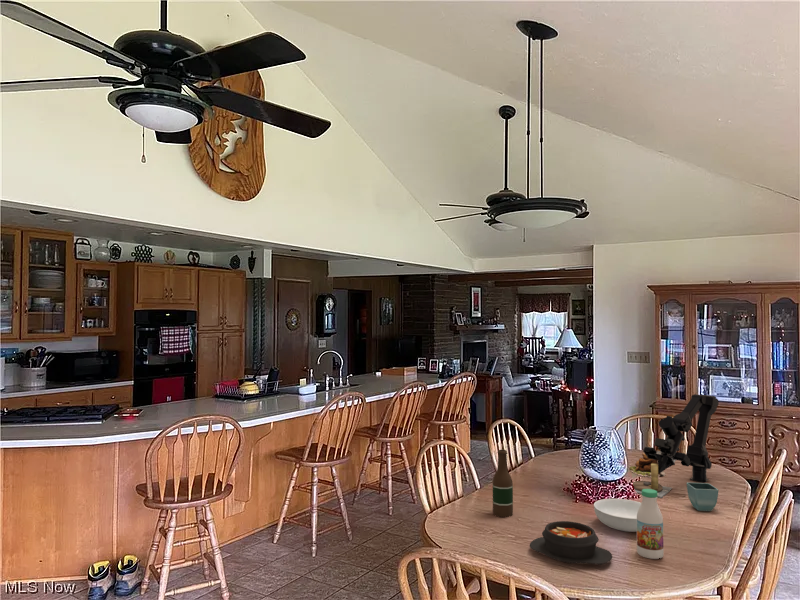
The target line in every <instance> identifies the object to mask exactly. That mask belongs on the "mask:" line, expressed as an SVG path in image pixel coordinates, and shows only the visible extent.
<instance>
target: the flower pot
mask: <svg viewBox="0 0 800 600" xmlns="http://www.w3.org/2000/svg"><path fill="white" fill-rule="evenodd" d="M686 491H687V497H688V499H689V502H690V503H691V506H692V507H693V508H694V509H696V510H697V511H699V512H700V511H703V512H712V511H714V508H716V505H717V503H718V497H719V489H718V488H717V487H715V486H714V485H712V484H711V483H707V482H706V483H704V482H686Z"/></svg>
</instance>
